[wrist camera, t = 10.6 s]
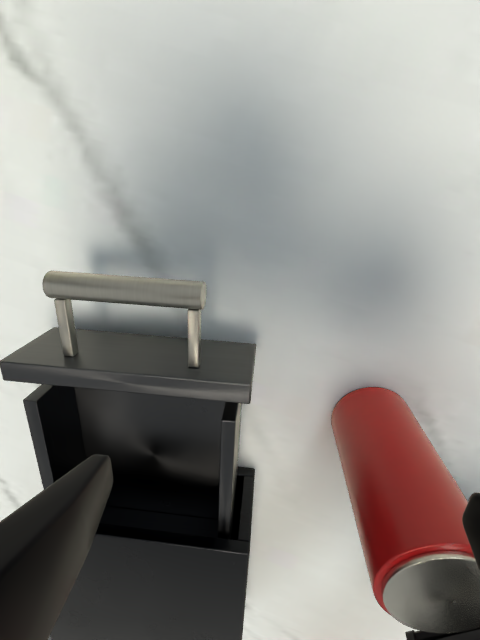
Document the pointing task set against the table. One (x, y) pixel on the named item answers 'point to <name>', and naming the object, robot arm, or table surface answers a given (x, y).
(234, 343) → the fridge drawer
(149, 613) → the box
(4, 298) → the table surface
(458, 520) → the red can
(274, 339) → the table surface
